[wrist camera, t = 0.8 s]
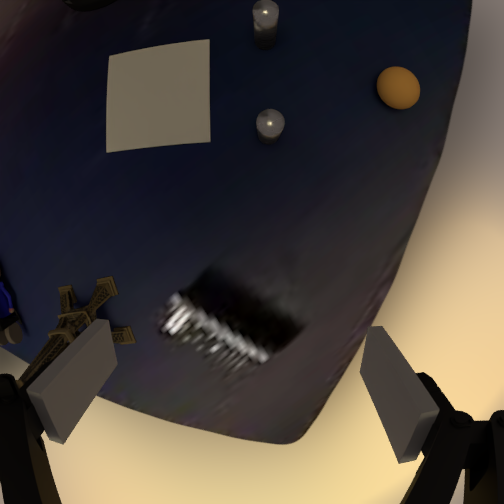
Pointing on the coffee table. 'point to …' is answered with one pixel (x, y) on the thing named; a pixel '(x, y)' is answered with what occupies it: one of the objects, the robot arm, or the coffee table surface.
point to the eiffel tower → (76, 324)
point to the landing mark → (159, 96)
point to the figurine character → (8, 319)
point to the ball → (398, 87)
